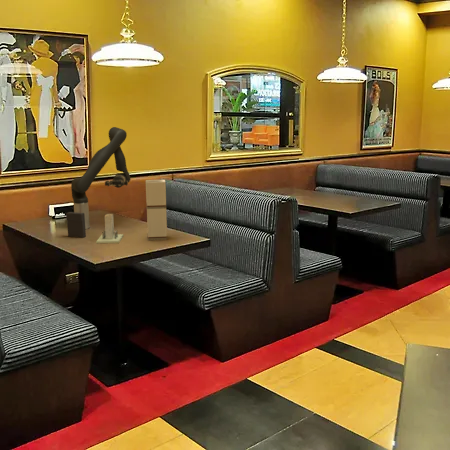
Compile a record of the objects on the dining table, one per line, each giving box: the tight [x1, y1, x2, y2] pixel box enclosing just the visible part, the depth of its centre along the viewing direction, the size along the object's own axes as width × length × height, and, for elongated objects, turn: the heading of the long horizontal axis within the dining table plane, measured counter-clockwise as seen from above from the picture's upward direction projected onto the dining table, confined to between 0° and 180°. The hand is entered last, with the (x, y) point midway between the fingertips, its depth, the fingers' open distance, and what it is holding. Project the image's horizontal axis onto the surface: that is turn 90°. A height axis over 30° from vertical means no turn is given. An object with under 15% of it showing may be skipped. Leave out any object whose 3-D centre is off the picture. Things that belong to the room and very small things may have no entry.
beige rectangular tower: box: [145, 179, 168, 241], centre depth 331 cm, size 11×11×35 cm
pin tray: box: [95, 229, 124, 244], centre depth 330 cm, size 13×18×5 cm
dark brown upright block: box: [65, 211, 87, 239], centre depth 338 cm, size 11×4×15 cm, turn 71°
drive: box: [104, 213, 115, 239], centre depth 329 cm, size 4×6×14 cm, turn 1°
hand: (114, 184), depth 349 cm, fingers open, 8 cm apart
